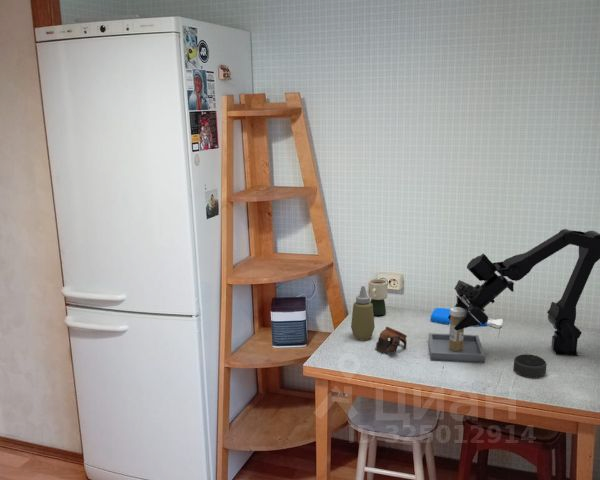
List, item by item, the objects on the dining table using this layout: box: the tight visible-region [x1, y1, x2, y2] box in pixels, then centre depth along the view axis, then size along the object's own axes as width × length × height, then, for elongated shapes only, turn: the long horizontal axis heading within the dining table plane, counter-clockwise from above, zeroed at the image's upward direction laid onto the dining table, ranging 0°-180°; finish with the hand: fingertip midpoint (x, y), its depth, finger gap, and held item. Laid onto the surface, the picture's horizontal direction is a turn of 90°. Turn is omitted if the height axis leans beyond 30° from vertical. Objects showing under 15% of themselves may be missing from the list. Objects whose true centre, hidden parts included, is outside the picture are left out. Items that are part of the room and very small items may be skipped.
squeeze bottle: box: [350, 285, 376, 341], centre depth 198 cm, size 8×8×18 cm
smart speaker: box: [513, 353, 548, 378], centre depth 172 cm, size 9×9×4 cm
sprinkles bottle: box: [449, 306, 465, 351], centre depth 186 cm, size 5×5×14 cm
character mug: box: [367, 278, 389, 316], centre depth 220 cm, size 11×7×13 cm, turn 153°
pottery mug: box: [375, 326, 408, 355], centre depth 188 cm, size 12×10×8 cm
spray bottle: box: [430, 307, 504, 329], centre depth 212 cm, size 3×11×24 cm
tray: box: [428, 332, 486, 364], centre depth 187 cm, size 16×16×2 cm
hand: (452, 323), depth 185 cm, fingers open, 9 cm apart
